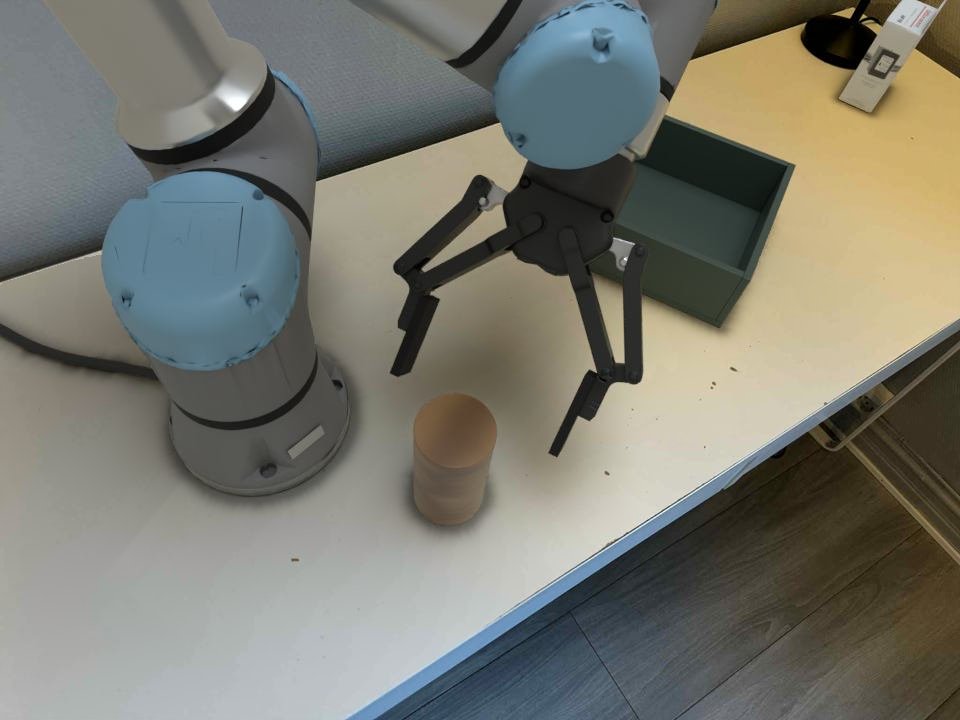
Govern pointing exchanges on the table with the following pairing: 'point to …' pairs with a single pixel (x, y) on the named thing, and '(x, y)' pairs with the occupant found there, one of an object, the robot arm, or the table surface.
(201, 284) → the robot arm
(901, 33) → the ink box
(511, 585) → the table surface
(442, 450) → the cardboard tube
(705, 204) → the bin
